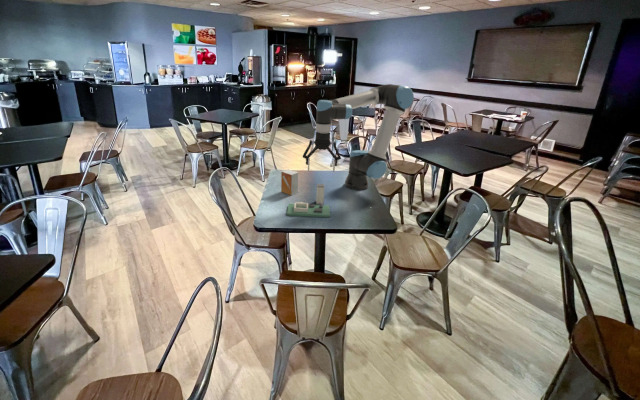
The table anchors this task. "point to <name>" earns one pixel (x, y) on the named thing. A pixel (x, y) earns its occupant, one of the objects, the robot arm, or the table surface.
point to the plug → (320, 193)
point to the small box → (289, 182)
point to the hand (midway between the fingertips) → (321, 171)
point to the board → (308, 210)
